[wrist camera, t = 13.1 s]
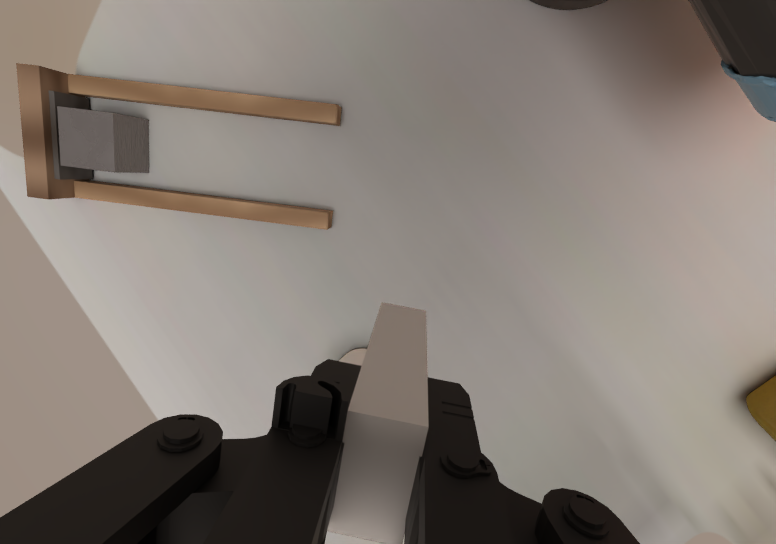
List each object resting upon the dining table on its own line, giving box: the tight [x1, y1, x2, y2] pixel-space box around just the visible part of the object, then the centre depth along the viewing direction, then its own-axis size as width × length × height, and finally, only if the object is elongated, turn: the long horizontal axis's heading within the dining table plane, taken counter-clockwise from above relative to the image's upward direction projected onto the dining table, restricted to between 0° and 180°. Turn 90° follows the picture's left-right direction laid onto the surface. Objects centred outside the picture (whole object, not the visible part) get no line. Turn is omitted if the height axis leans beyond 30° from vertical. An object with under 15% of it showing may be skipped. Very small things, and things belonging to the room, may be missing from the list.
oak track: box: [16, 63, 342, 230], centre depth 39 cm, size 11×27×5 cm, turn 83°
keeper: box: [57, 106, 149, 173], centre depth 39 cm, size 5×5×5 cm
